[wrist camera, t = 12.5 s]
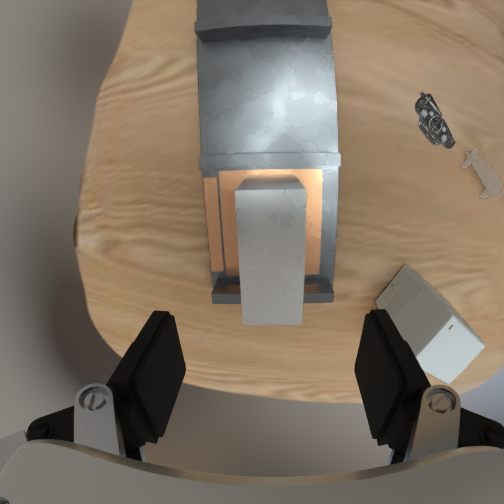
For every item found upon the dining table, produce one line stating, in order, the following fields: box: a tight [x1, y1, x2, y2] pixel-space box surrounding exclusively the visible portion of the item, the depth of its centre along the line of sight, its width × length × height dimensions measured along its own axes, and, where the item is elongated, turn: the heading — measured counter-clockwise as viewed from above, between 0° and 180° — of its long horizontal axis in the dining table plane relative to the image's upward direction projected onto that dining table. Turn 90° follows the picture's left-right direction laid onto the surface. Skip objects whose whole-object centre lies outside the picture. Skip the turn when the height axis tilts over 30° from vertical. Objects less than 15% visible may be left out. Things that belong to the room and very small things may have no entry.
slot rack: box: [195, 0, 341, 304], centre depth 21 cm, size 12×37×4 cm, turn 2°
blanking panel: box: [235, 174, 306, 325], centre depth 21 cm, size 4×9×9 cm, turn 2°
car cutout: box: [415, 92, 503, 199], centre depth 21 cm, size 15×7×4 cm, turn 51°
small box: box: [375, 264, 485, 384], centre depth 24 cm, size 8×6×10 cm
